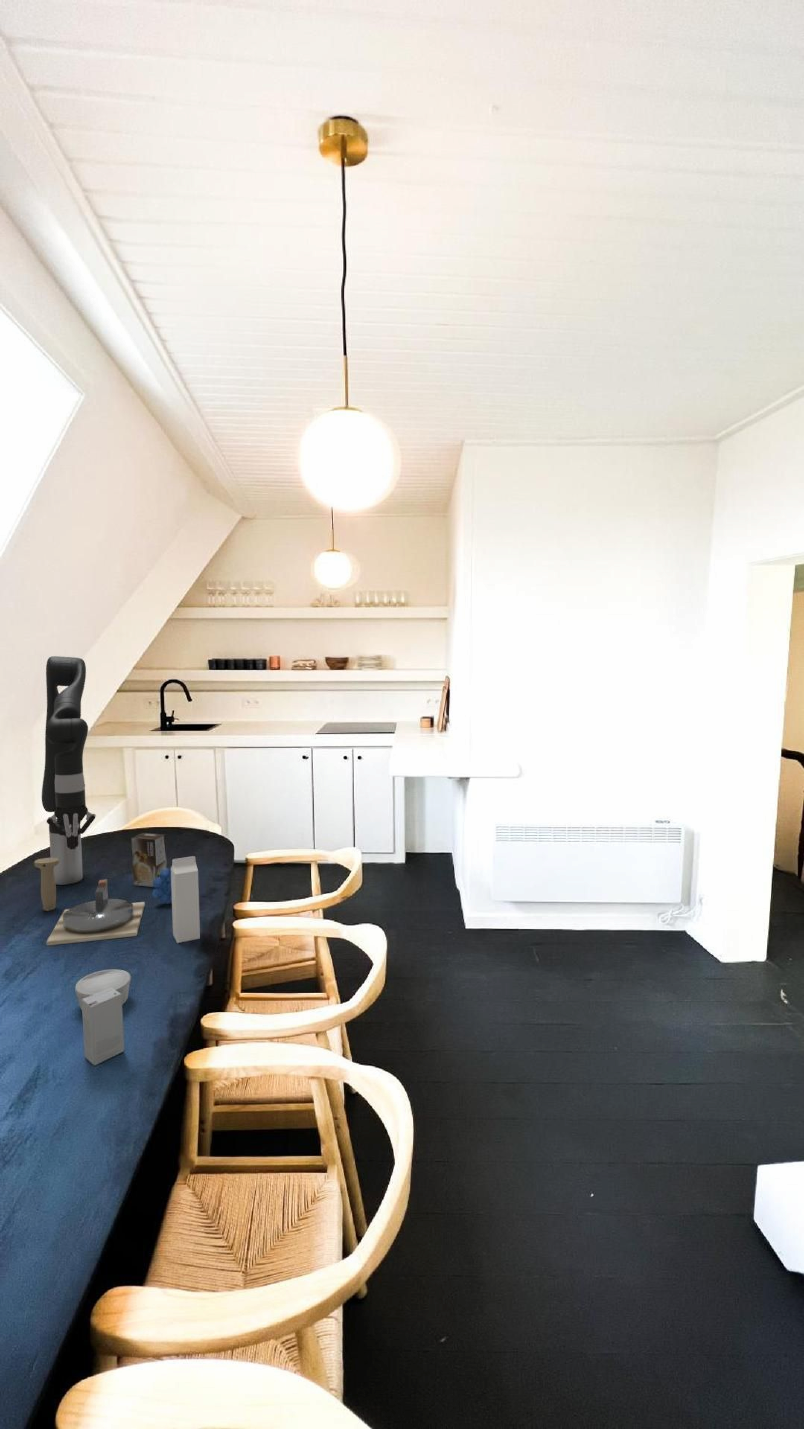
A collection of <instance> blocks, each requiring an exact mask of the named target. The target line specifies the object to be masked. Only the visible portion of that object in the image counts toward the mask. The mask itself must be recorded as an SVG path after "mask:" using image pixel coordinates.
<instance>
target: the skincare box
mask: <svg viewBox="0 0 804 1429" xmlns="http://www.w3.org/2000/svg"><path fill="white" fill-rule="evenodd" d="M81 1001H82V1009H81V1012H82V1030H83V1048H84V1058H86V1059H87V1060H88V1062H90V1063H91V1064H92V1065H93V1066H96V1065H99V1064H101V1063H103V1062H105V1061H106V1060H110V1059H111V1058H112V1057H115V1056H117V1055H119V1054H121V1053H123V1052H124V1051H125V1040H124V1039H125V1036H124V1035H125V1034H124V1020H123V1019H124V1016H123V1014H124V1013H123V1005H122V995H121V994H120V993H119V992H118V991H116V990H115V989H113V988H109V989H106V990H104V991H101V992H99V993H96V994H94V995H92V996H89V997H87V998H84V999H82V1000H81Z"/></svg>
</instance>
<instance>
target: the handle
mask: <svg viewBox="0 0 804 1429" xmlns="http://www.w3.org/2000/svg"><path fill="white" fill-rule="evenodd" d="M58 864H59V858H51V857H45V858H38V859H36V860H34V867H35V868H38V869H40V898H41V903H42V909H43V911H46V912H50V911H54V910H55V909H56V907H57V904H56V903H57V902H56V901H57V888H56V887H57V886H56V885H57V884H55V878H54V867H55V866H56V865H58Z"/></svg>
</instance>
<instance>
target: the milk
mask: <svg viewBox="0 0 804 1429" xmlns="http://www.w3.org/2000/svg"><path fill="white" fill-rule="evenodd" d="M196 861H197V860H196V856H194V855H192V856H186V857H179V858H173V859H172V865H171V866H170V870H171V890H172V904H171V913H172V916H171V917H172V936H173V937H174V939H175V941H176V944H179V943H183V942H190V941H195V940H199V939H200V938H201V929H200V927H201V926H200V894H199V893H200V892H199V890H200V889H199V869H198V865H197V862H196Z"/></svg>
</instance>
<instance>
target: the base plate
mask: <svg viewBox="0 0 804 1429" xmlns="http://www.w3.org/2000/svg"><path fill="white" fill-rule="evenodd" d="M131 903H132V904H133V913H134V915H133V918H132V919H131V920H130V921H129V922H127V923H126V924H124V925H122V926H119V927H117V928H114V929H111V930H107V931H102V932H96V933H74V932H70V931H67V930H66V929H65V928H64V926H63V915H64V913H65V912H66V911H68V910H69V909H70V908H66V909H64V910H63V912H62V914H61V915H60V917H59V919H58V921H57V922H56V924H55V926H54V928H53V929H52V932H51V933H50V935H49V936H48V938H47V940H46V947H47V946H55V945H56V946H57V945H64V944H74V943H75V944H76V943H82V942H85V943H86V942H91V941H103V940H110V939H112V940H113V939H120V938H121V939H122V938H129V937H137V935H138V933H139V927H140V924H141V921H142V918H143V913H144V909H145V906H146V902H145V901H140V902H139V901H138V902H131Z"/></svg>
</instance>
